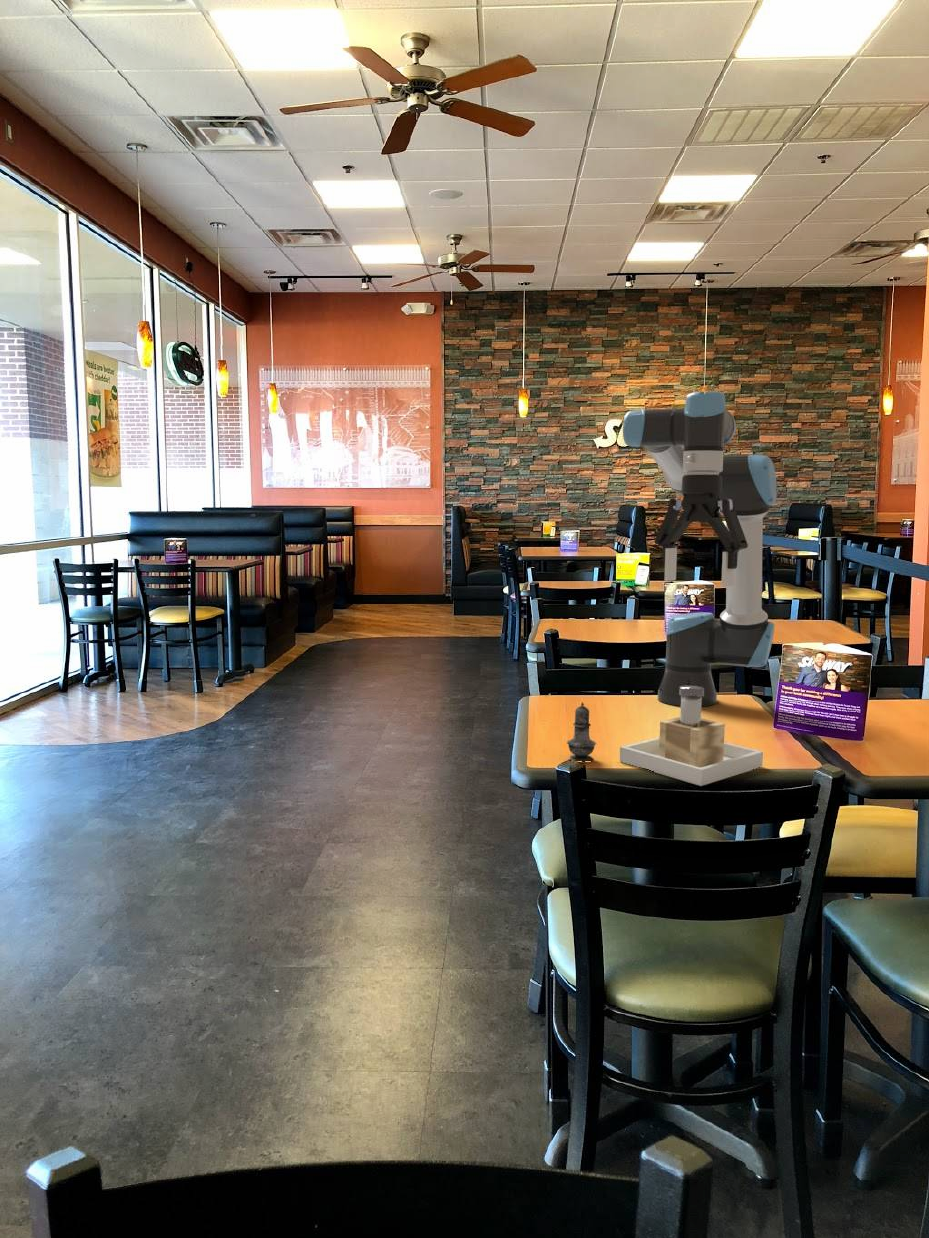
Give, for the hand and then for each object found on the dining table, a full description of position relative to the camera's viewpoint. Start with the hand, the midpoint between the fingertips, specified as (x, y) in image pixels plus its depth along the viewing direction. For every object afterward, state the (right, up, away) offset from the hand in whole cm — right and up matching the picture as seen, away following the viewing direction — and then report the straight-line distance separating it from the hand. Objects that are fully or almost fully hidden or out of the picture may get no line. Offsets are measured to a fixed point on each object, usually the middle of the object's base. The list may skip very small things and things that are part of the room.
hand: (697, 583), depth 183 cm
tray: (0, -36, +5) cm, 37 cm away
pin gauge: (-1, -36, +5) cm, 36 cm away
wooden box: (0, -36, +5) cm, 36 cm away
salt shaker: (-22, -36, +8) cm, 43 cm away
